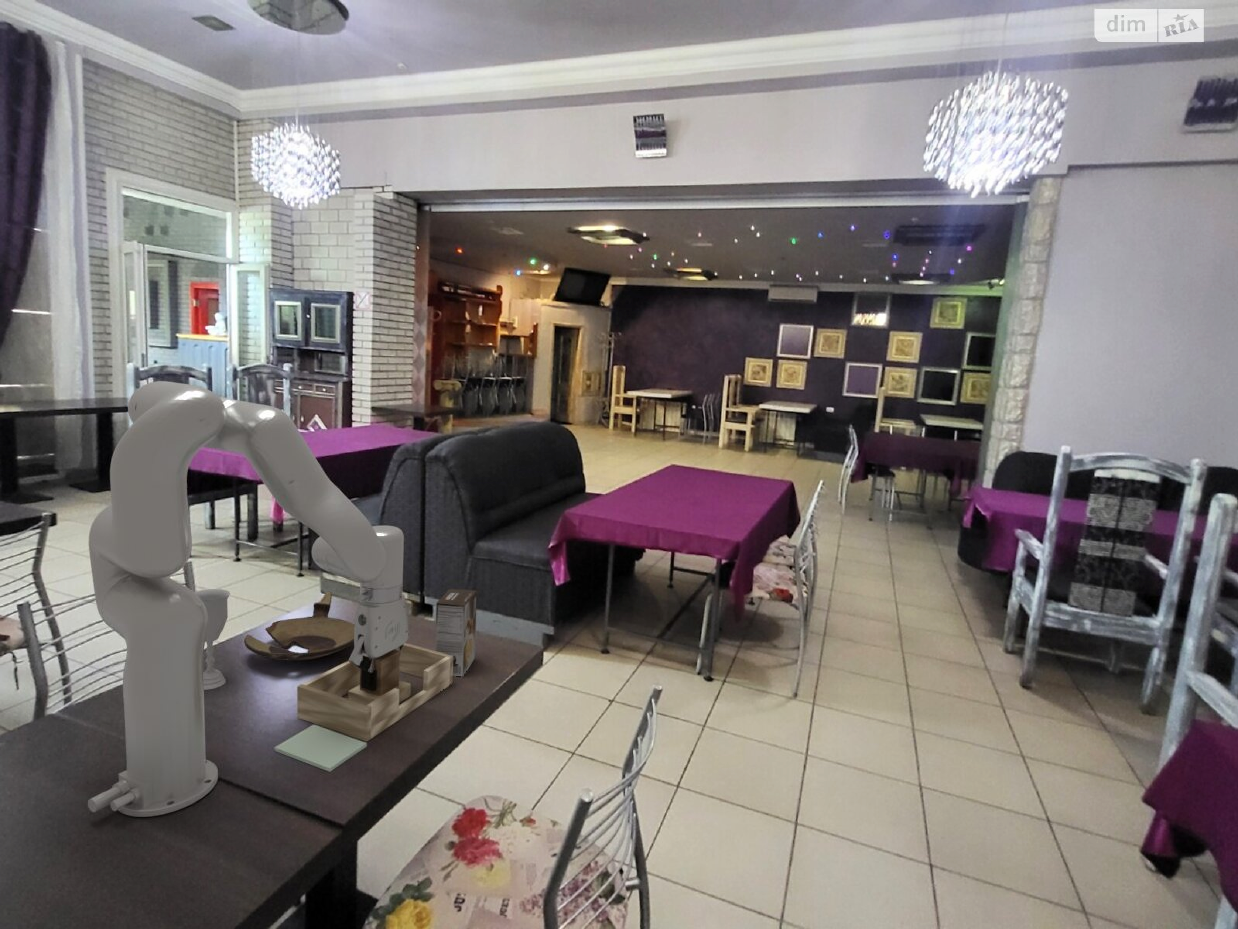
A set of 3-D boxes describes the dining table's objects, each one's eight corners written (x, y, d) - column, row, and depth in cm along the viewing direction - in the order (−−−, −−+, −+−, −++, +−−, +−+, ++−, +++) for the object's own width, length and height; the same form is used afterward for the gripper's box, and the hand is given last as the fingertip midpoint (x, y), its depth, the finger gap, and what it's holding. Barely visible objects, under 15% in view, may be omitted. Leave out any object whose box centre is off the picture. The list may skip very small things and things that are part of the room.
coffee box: (447, 656, 146) (449, 587, 144) (475, 659, 146) (478, 590, 144) (433, 675, 137) (435, 602, 135) (463, 678, 137) (466, 604, 134)
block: (380, 696, 122) (381, 661, 121) (359, 689, 124) (360, 655, 123) (398, 685, 127) (399, 651, 126) (378, 679, 129) (379, 645, 128)
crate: (366, 741, 112) (366, 709, 111) (297, 717, 118) (297, 686, 117) (452, 683, 134) (453, 656, 133) (390, 665, 140) (391, 639, 139)
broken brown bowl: (216, 670, 133) (215, 634, 132) (313, 618, 162) (313, 588, 161) (312, 688, 129) (313, 651, 128) (394, 631, 158) (395, 600, 157)
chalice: (240, 677, 131) (238, 591, 128) (215, 693, 124) (213, 603, 121) (205, 673, 131) (203, 587, 129) (179, 689, 125) (177, 599, 122)
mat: (329, 772, 103) (329, 768, 103) (274, 750, 108) (274, 747, 108) (366, 746, 111) (366, 743, 111) (313, 727, 115) (313, 724, 115)
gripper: (363, 610, 114) (361, 707, 116) (427, 583, 129) (424, 670, 132) (330, 601, 116) (329, 697, 119) (396, 576, 132) (394, 661, 135)
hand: (379, 682), depth 125 cm, fingers closed on block, 5 cm apart
